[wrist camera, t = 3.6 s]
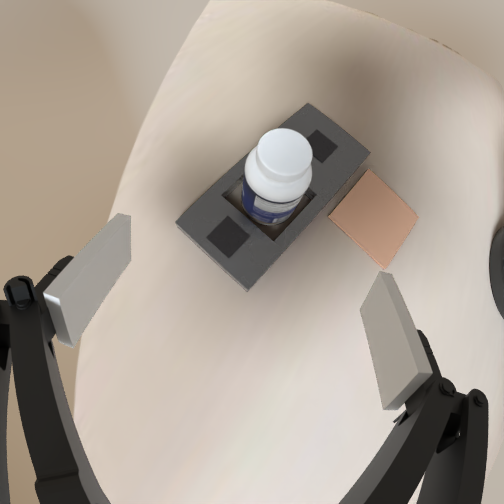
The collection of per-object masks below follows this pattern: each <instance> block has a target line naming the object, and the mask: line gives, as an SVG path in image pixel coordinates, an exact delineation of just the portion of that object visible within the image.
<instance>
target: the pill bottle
mask: <svg viewBox="0 0 504 504" xmlns="http://www.w3.org/2000/svg"><path fill="white" fill-rule="evenodd" d="M311 161H312V148H311V146H310V144H309V142H308V141H307V140H306V138H305V137H304V136H302V135H301V134H300V133H298V132H296V131H294V130H290V129H285V128H278V129H273V130H271V131H268V132H267V133H265V134H264V135H263V136H262V137H261V139H260V140H259V143H258V145H257V146H256V147H255V148H253V150H252V151H251V152H250V153H249V155H248V157H247V160H246V163H245V169H244V177H243V186H242V196H241V197H242V205H243V208H244V210H245V212H246V214H247V215H248V216H249V217H250V218H251V219H252V220H254V221H256V222H258V223H260V224H263V225H276V224H280V223H282V222H284V221H285V220H287V219H288V218H289V217H290V216H291V215H292V213H293V212H294V210H295V208H296V207H297V205H298V203H299V202H300V200H301V198H302V197H303V195H304V194H305V192H306V190H307V188H308V187H309V184H310V182H311V179H312V167H311Z"/></svg>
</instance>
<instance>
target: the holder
mask: <svg viewBox="0 0 504 504" xmlns="http://www.w3.org/2000/svg"><path fill="white" fill-rule="evenodd" d="M278 128H285V129H290V130H294V131H296V132H298V133H300V134H301V135H302V136H304V137H305V138H306V140H307V141H308V142H309V144H310V146H311V148H312V161H311V167H312V179H311V182H310V184H309V187H308V188H307V190H306V192H305V194H306V195H307V196H308V197H309V198H310V199H312V201H311V202H310V203H309V204H308V205H307V206H306V207H305V208H304V209H303V210H302V211H301V213H300V214H299V215H298V216H297V217H296V218H295V219H294V220H293V221H292V222H291V223H290V225H289V226H288V227H287V228H286V229H285V230H284V231H283V232H282V233H281V234H280V235H279V237H278V238H277V239H276V240H275V241H274V242H273V241H272V240H271V239H270V238H269V237H268V236H267V235H266V234H265V233H263V232H262V231H261V230H260V229H259V228H258V227H257V226H256V225H254V224H253V223H252V222H251V221H250V220H249V219H248V218H246V217H245V216H244V215H243V214H242V213H241V212H240V211H239V210H237V209H236V208H235V207H234V206H233V205H232V204H231V203H229V202H228V201H227V200H226V199H225V197H226V196H228V195H229V194H230V193H231V192H232V191H233V190H234V189H235V188H236V187H237V186H238V185H239V184H240V183H241V182H242V181H243V177H244V169H245V163H246V160H247V157H248V155H249V153H250V152H251V151H252V150H251V151H250V152H249V153H248V154H247V155H246V156H245V157H244V158H242V159H241V160H240V161H239V162H238V163H237V164H236V165H235V166H234V167H232V168H231V169H230V170H229V171H228V172H227V173H226V174H225V175H224V176H223V177H222V178H220V179H219V180H218V181H217V182H216V183H215V184H214V185H213V186H212V187H211V188H210V189H209V190H208V191H207V192H205V193H204V194H203V195H202V196H201V197H200V198H199V199H198V200H197V201H196V202H195V203H194V204H193V205H192V206H191V207H190V208H189V209H188V210H187V211H186V212H185V213H184V214H183V215H182V216H181V217H180V218H179V219H178V220H177V221H176V222H175V223H176V225H177V227H178V228H179V229H180V230H181V231H182V232H183V233H184V234H185V235H186V236H187V237H188V238H190V239H191V240H192V241H193V242H194V243H195V244H196V245H197V246H198V247H199V248H200V249H201V250H202V251H203V252H204V253H205V254H207V255H208V256H209V257H210V258H211V259H212V260H213V261H214V262H215V263H216V264H217V265H218V266H219V267H221V268H222V269H223V270H224V271H225V272H226V273H227V274H228V275H229V276H230V277H231V278H232V279H234V280H235V281H236V282H237V283H238V284H239V285H240V286H241V287H242V288H243V289H244V290H246V291H247V292H248V291H249V289H250V288H251V287H252V286H253V285H254V284H255V283H256V282H257V281H258V280H259V279H260V277H261V276H262V275H263V274H264V273H265V272H266V271H267V270H268V269H269V268H270V266H271V265H272V264H273V263H274V262H275V261H276V260H277V259H278V258H279V256H280V255H281V254H282V253H283V252H284V251H285V250H286V249H287V248H288V246H289V245H290V244H291V243H292V242H293V241H294V240H295V239H296V238H297V236H298V235H299V234H300V233H301V232H302V231H303V230H304V229H305V227H306V226H307V225H308V224H309V223H310V222H311V221H312V220H313V218H314V217H315V216H316V215H317V214H318V213H319V212H320V210H321V209H322V208H323V207H324V206H325V205H326V204H327V202H328V201H329V200H330V199H331V198H332V197H333V196H334V194H335V193H336V192H337V191H338V190H339V189H340V188H341V186H342V185H343V184H344V183H345V182H346V181H347V180H348V178H349V177H350V176H351V175H352V174H353V173H354V171H355V170H356V169H357V168H358V167H359V166H360V164H361V163H362V162H363V161H364V160H365V159H366V157H367V156H368V155H369V154H370V152H369V151H368V150H367V149H366V148H365V147H364V146H362V145H361V144H360V143H359V142H358V141H356V140H355V139H354V138H353V137H352V136H350V135H349V134H348V133H347V132H346V131H344V130H343V129H342V128H341V127H339V126H338V125H337V124H336V123H334V122H333V121H332V120H330V119H329V118H328V117H327V116H325V115H324V114H323V113H321V112H320V111H319V110H317V109H316V108H315V107H313V106H312V105H311V104H309V103H307V104H306V105H305V106H304V107H302V108H301V109H300V110H299V111H298V112H296V113H295V114H294V115H293V116H291V117H290V118H289V119H288V120H287V121H285V122H284V123H283V124H282V125H281V126H279V127H278ZM278 128H277V129H278Z"/></svg>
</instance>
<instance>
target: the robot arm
mask: <svg viewBox="0 0 504 504" xmlns="http://www.w3.org/2000/svg"><path fill="white" fill-rule="evenodd" d="M130 261H131V216H129V215H124V214H119V213H118V214H117V215H116V216H115V217H114V218H112V219H111V220H110V221H109V222H108V223H107V224H106V225H105V226H104V227H103V228H102V229H101V231H99V232H98V234H96V235H95V236H94V237H93V238H92V240H90V242H88V243H87V245H86V246H85V247H84V248H83V249H82V250H81V251H80V252H79V253H78V254H77V255H76V256H75V257H72V256H66V257H65V258H63V259H61V260H59V261H58V262H57V263H56V264H55V265H54V267H53V269H51V270H50V271H49V272H48V274H46V275H45V276H44V277H43V278H42V280H41V281H40V282H39V283H38V284H37V285H36V286H35V287H34V285H33V282H32V279H30V278H29V277H27V276H17V277H14V278H12V279H11V280H9V281H8V282H7V283H6V284H5V286H4V289H3V290H4V293H5V296H6V299H7V300H0V504H10V494H9V483H8V471H7V450H6V429H7V405H8V392H9V381H10V373H11V365H13V374H14V381H15V388H16V395H17V400H18V406H19V411H20V416H21V421H22V426H23V430H24V434H25V438H26V442H27V446H28V449H29V453H30V457H31V460H32V463H33V466H34V470H35V473H36V477H37V480H36V482H35V490H36V493H37V496H38V499H39V502H40V504H111V503H110V502H109V500H108V498H107V497H106V495H105V494H104V492H103V491H102V489H101V487H100V485H99V483H98V481H97V479H96V477H95V475H94V472H93V470H92V468H91V466H90V463H89V461H88V458H87V456H86V454H85V451H84V449H83V446H82V443H81V441H80V438H79V435H78V433H77V430H76V427H75V424H74V421H73V418H72V415H71V412H70V409H69V405H68V402H67V399H66V395H65V392H64V388H63V385H62V381H61V377H60V373H59V369H58V364H57V360H56V356H55V351H54V346H53V342H52V340H51V339H52V338H53V336H54V335H55V333H56V335H57V338H58V341H59V342H60V343H62V344H64V345H67V346H69V347H72V348H74V346H75V345H76V343H77V341H78V340H79V338H80V337H81V335H82V333H83V332H84V330H85V328H86V327H87V325H88V324H89V322H90V320H91V319H92V317H93V316H94V314H95V313H96V311H97V310H98V308H99V307H100V305H101V303H102V302H103V300H104V299H105V297H106V296H107V294H108V293H109V291H110V290H111V289H112V287H113V286H114V284H115V283H116V281H117V280H118V278H119V277H120V275H121V274H122V273H123V271H124V270H125V268H126V267H127V265H128V264H129V263H130ZM490 278H491V286H492V291H493V295H494V299H495V302H496V305H497V308H498V310H499V312H500V314H501V316H502V317H503V319H504V226H503V227H502V228H501V229H500V230H499V231H498V232H497V234H496V236H495V238H494V240H493V244H492V248H491V255H490ZM360 313H361V317H362V320H363V324H364V328H365V332H366V336H367V340H368V344H369V348H370V352H371V356H372V360H373V364H374V369H375V373H376V378H377V382H378V387H379V392H380V397H381V402H382V407H383V410H398V409H399V408H400V407H401V406H402V405H403V404H404V403H405V406H406V410H405V411H404V412H403V413H402V414H401V415H400V416H399V417H397V418H396V419H395V420H394V421H393V422H394V423H395V422H397V423H396V425H395V426H394V428H393V430H392V431H391V433H390V434H389V436H388V437H387V439H386V441H385V442H384V444H383V445H382V447H381V448H380V450H379V451H378V453H377V454H376V456H375V457H374V458H373V460H372V461H371V463H370V464H369V465H368V467H367V468H366V470H365V471H364V472H363V474H362V475H361V476H360V478H359V479H358V480H357V482H356V483H355V484H354V485H353V487H352V488H351V489H350V490H349V492H348V493H347V494H346V495H345V497H344V498H343V499H342V500H341V501H340V502H339V504H408V502H409V500H410V499H411V497H412V495H413V493H414V492H415V490H416V488H417V486H418V484H419V482H420V481H421V479H422V477H423V475H424V473H425V476H424V479H423V483H422V487H421V490H420V494H419V497H418V501H417V504H481V500H482V493H483V487H484V480H485V471H486V461H487V448H488V400H487V398H486V396H485V394H484V393H483V392H481V391H480V390H478V389H472V390H471V391H470V392H469V393H468V394H467V395H465V394H462V393H459V392H456V388H455V386H454V385H453V383H452V382H451V381H450V380H448V379H446V378H444V377H442V376H441V373H440V370H439V367H438V365H437V362H436V360H435V357H434V355H433V352H432V349H431V348H430V345H429V342H428V340H427V338H426V336H425V335H424V334H423V333H422V331H421V330H416V327H415V325H414V323H413V320H412V318H411V316H410V313H409V311H408V309H407V306H406V304H405V302H404V300H403V297H402V295H401V293H400V291H399V289H398V286H397V284H396V282H395V280H394V278H393V276H392V274H389V273H385V272H381V271H380V272H379V274H378V276H377V278H376V280H375V282H374V284H373V286H372V288H371V290H370V291H369V293H368V295H367V297H366V299H365V301H364V303H363V305H362V306H361V308H360ZM459 433H460V435H459ZM425 471H426V472H425Z"/></svg>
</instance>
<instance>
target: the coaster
mask: <svg viewBox="0 0 504 504" xmlns="http://www.w3.org/2000/svg"><path fill="white" fill-rule="evenodd" d="M328 217H329V218H330V219H331V220H332V221H333V222H334V223H335V224H336V225H337V226H338V227H340V228H341V229H342V230H343V231H344V232H345V233H346V234H347V235H348V236H349V237H350V238H351V239H352V240H354V241H355V242H356V243H357V244H358V245H359V246H360V247H361V248H362V249H363V250H364V251H365V252H366V253H367V254H368V255H369V256H370V257H371V258H372V259H373V260H374V261H375V262H376V263H378V264H379V265H380V266H381V267H382V268H383V269H386V267H387V266H388V264H389V263H390V262H391V260H392V259H393V257H394V256H395V254H396V253H397V251H398V249H399V248H400V246H401V245H402V243H403V242H404V240H405V239H406V237H407V235H408V234H409V232H410V231H411V229H412V227H413V226H414V224H415V223H416V221H417V219H418V218H419V217H418V216H417V214H416V213H415V212H414V211H413V210H412V209H411V208H410V207H409V206H408V205H407V204H406V203H405V202H404V201H403V200H402V199H401V198H400V197H399V196H398V195H397V194H396V193H395V192H394V191H392V190H391V189H390V188H389V187H388V186H387V185H386V184H385V183H384V182H383V181H382V180H381V179H380V178H379V177H378V176H377V175H375V174H374V173H373V172H372V171H371V170H370V169H368V170H367V171H366V172H365V174H364V175H363V176H362V177H361V178H360V180H359V181H358V182H357V183H356V184H355V186H354V187H353V188H352V189H351V190H350V192H349V193H348V194H347V195H346V196H345V197H344V199H343V200H342V201H341V202H340V203H339V205H338V206H337V207H336V208H335V209H334V210H333V212H332V213H331V214H330V215H329V216H328Z"/></svg>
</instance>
